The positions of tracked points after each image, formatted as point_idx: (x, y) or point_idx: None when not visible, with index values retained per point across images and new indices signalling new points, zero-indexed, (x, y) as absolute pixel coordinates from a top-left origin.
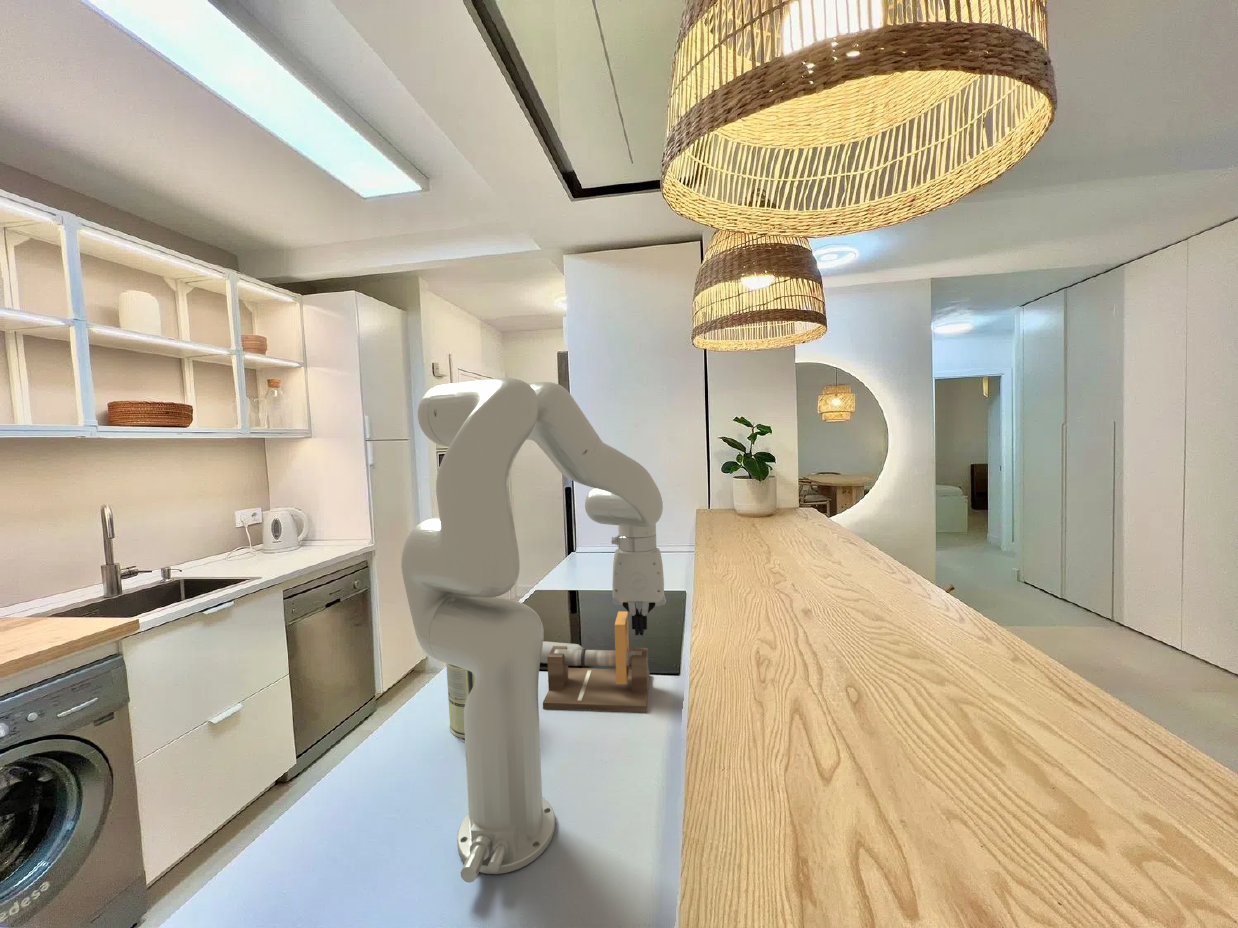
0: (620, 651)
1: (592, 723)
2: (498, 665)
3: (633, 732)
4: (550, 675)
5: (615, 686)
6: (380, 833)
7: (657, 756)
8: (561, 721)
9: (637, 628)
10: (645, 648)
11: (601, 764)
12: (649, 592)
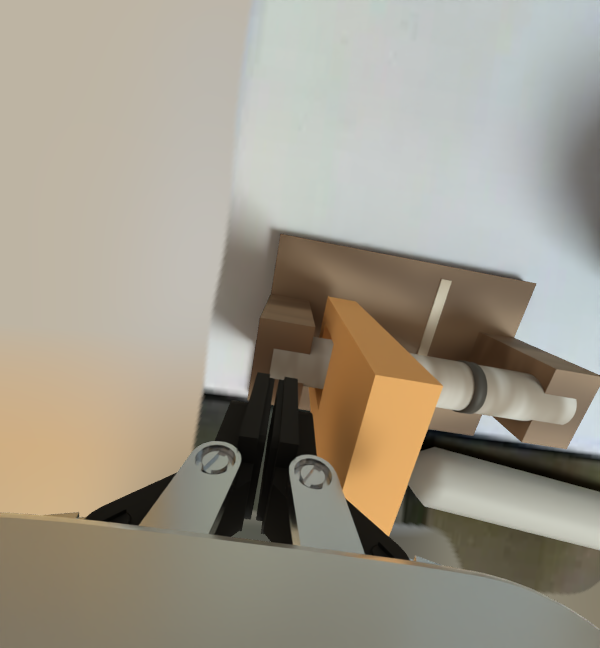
0: (363, 326)
1: (416, 202)
2: None
3: (322, 148)
4: (539, 350)
5: None
6: None
7: (274, 29)
8: (488, 221)
9: (284, 392)
10: None
11: (417, 14)
12: None
